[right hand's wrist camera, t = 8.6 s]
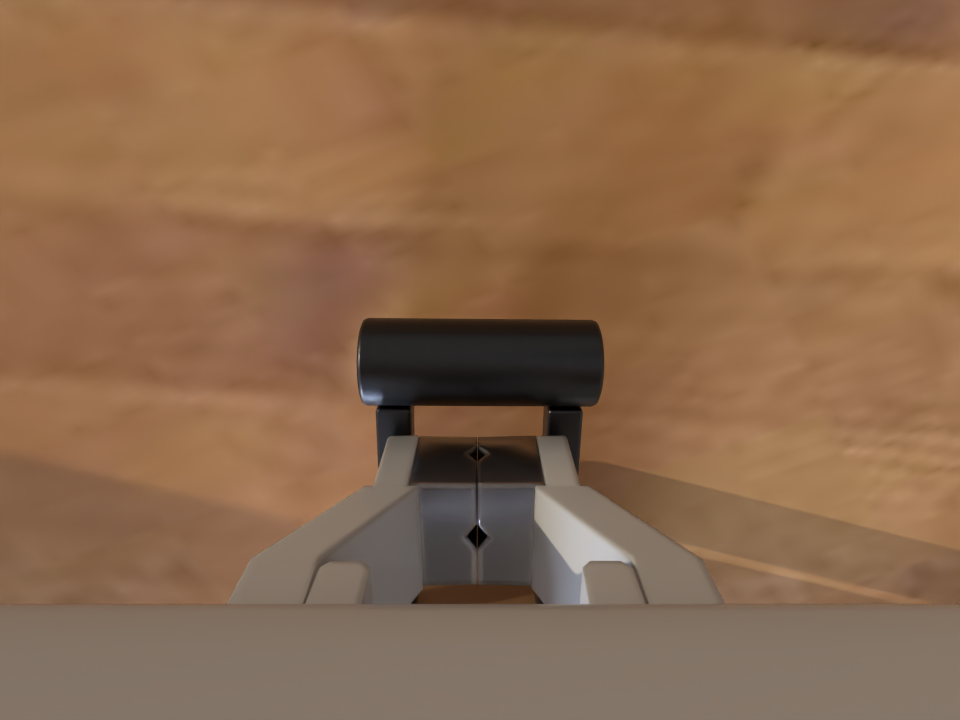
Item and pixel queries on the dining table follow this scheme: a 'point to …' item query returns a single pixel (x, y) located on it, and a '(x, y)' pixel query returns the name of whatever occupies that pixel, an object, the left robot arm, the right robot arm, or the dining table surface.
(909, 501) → the dining table surface
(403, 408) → the drawer
